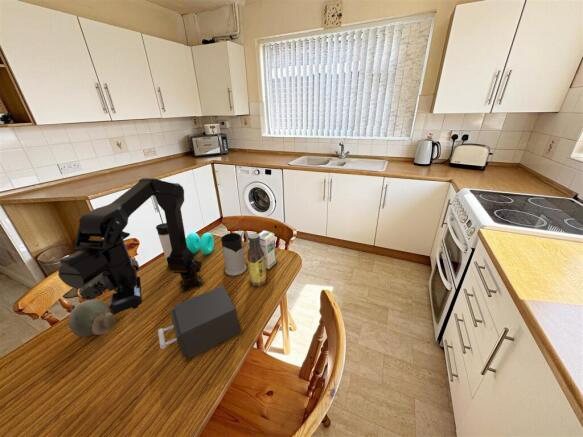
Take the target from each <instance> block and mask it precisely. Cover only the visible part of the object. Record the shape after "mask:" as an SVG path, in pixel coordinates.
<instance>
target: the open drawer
mask: <svg viewBox="0 0 583 437" xmlns="http://www.w3.org/2000/svg"><path fill="white" fill-rule="evenodd" d="M169 312H170V317H171V322H172V325H170V326H167V327H165V328H158V330H157V334H158V335H157V337H158V342H159V349H161V350H163V349H165V348H166V347H167V346H168V345H170V344H173V343H175V342H177V345H178V347H179V350H180V352H181V353H180V354H181V356H182V358H184V357H186V356H188V354H187V351H186V348H185V345H184V342H183V339H182V336H181V333H180V329H179V325H178V321H177V317H176V313H175V310H174V309H171V310H170V311H169ZM172 329H173V330H174V334H175V337H174V338H172V339H170V340H168V341H166V336H165V332H167V331H170V330H172Z"/></svg>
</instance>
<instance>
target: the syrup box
mask: <svg viewBox="0 0 583 437" xmlns="http://www.w3.org/2000/svg"><path fill="white" fill-rule="evenodd" d="M258 234H259V236H260V239H259V240H260V246H261V248H262V250H263V252H264V256H265V267H266V270H270V269H271V268H272V267H273V266H274V265H275V264H276V263H278V261H277V259H278V258H277V250H276V249H277V248H276V240H275V233H274V232H271V231H268V230H262V231H260V232H258Z"/></svg>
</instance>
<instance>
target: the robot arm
mask: <svg viewBox="0 0 583 437" xmlns="http://www.w3.org/2000/svg"><path fill="white" fill-rule="evenodd" d="M152 196H153V197H155V200H156V203H157V205H158V206H159V207H160V208H161V209H162V210H163V212H164V217H165V223H167V228H168V233H169V238H170V244H171V249H172V251H171V253H170V255H169V257H167V261H166V263H167V262H168V264H167V268H168V269H169V271H171V272H173V274H179V275H180V278H181V280H180V283H181V286H182V290H183V292H186V291H188V290H189V291H190V290H191V289H194V288H197V287H200V286H201V285H202V281H201V278H200V276H199V275H198V273H200V272H201V269H202V261H199V260H196V258H195V256H194V255H195V254H193V253H192V252H191V251H190V250H189V249H188V248H187V243H186V238H187V237H186V231H185V226H184V220H183V215H182V214H183V213H182V206H183V204H184V203H185V189H184V186H182V185H181V184H180V183H178V182H176V183H175V182H170V181H165V180H162V179H159V178H156V177H143V178H140V179H139V180H138V182H136V184H135V185H133V186H132V187H130V188H129V189H127V191H125V192H124V193H123V194H122V195H119V197H117V198H115V200H114V201H112V202H111V203H109V204H107V205H103V206H100V207H97V208H95V209H93V210H90V211H88V212H85V213H83V215H82V216H81V217H80V218H79V220H78V222H79V223H78V224H79V225H78V230H77V233H76V237H75V242H74V246H73V248H74V250H77V251H75V252H73V254H70V255H69V256H65V257H63V258H62V259H60V260H59V263H60V266H59V267H58V269H57V270H58V274H57V276H58V278H59V279H60V280H61V281H62V283H64V284H65V286H68V287H70V288H73V289H79V290H78V293H79V296H81V300H86V301H87V300H95V299H96V298H97V297H98V296H100V295H101V294H102V293H103V292H106V290H108V292H111V291H113V292H115V293H112V294H111V296H110V297H109V298H108V309H109V313H111V314H113V315H116V314H119V313H121V312H123V311H124V312H125V311H127V310H129V309H133V310H136V309H138V308H139V305H141V304H142V303H143V296H142V295H143V294H142V285H141V277H140V276H138V272H139V271H140V265H139V262H138V260H136V259H133V258H132V256H131V255H130V254H129V252H128V249H127V246H126V243H125V241H124V240H126V239H127V238H128V237H130V236H131V233H129V232H126V231H124V230H125V229H126V227H127V225H128V224H129V218H130V217H131V215H133V213H135V212H136V211H137V210H138V209H139V208H140V207H141V206H142V205H143V204H145V203H146V202H147V201H148V200H149V199H150V198H151V197H152ZM90 238H99V239H100V240H97V239H96V240H95V239H94V240H93V239H90Z"/></svg>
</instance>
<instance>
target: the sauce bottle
mask: <svg viewBox="0 0 583 437" xmlns="http://www.w3.org/2000/svg"><path fill="white" fill-rule="evenodd" d="M259 239H260V236H259V233H255V232H253V233H250V234H248V246H249V248H247V249H248V250H247V252H246V253H247V254H246V255H247V266H248V267H247V268H248V274H249V280H250V283H251V285H252V286H255V287H260V286H263V285H264V284H266V282H267V268H266V267H265V256H264V252H263V250H262V248H261V246H260V240H259Z"/></svg>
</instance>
